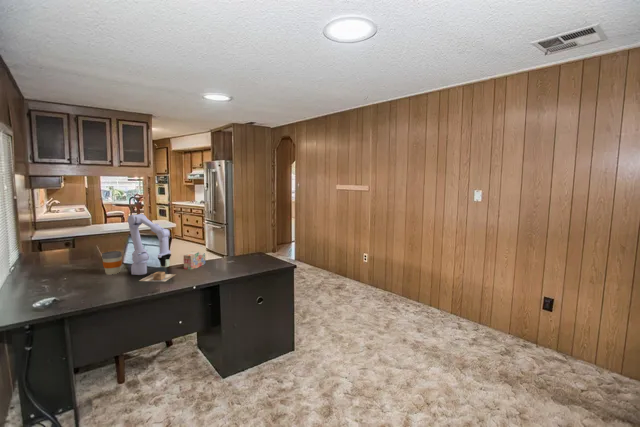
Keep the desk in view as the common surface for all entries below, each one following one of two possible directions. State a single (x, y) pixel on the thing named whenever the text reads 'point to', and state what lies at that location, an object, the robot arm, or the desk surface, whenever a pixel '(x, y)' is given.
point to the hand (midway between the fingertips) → (164, 265)
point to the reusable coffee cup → (112, 262)
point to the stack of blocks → (194, 260)
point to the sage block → (166, 263)
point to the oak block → (159, 276)
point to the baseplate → (150, 278)
